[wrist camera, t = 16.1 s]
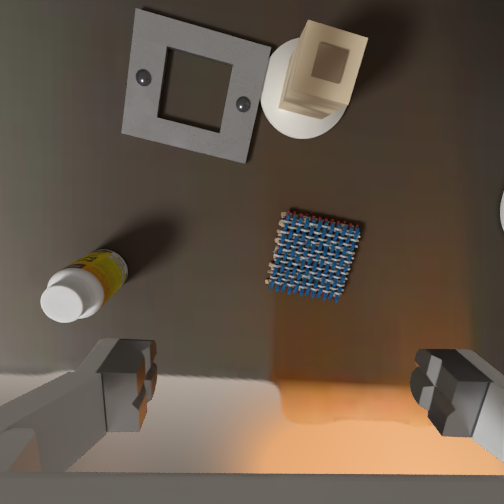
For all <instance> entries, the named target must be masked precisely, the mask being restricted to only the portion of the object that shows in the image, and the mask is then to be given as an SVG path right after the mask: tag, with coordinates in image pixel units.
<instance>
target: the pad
mask: <svg viewBox="0 0 504 504" xmlns="http://www.w3.org/2000/svg"><path fill="white" fill-rule="evenodd" d="M298 40H299V38H296V39H293V40H290V41H288V42H286V43H285V44H283V45H281V46H280V47H279V48H278V49H277V50H276V51H275V52H274V53H273V54H272V55H271V57H270V58H269V59H268V64H267V68H266V73H265V77H264V82H263V86H262V91H261V95H260V102H261V106H262V109H263V112H264V114H265V116H266V118H267V119H268V121H269V122H270V123H271V125H272V126H273V127H274V128H275V129H277V130H278V131H279V132H281V133H282V134H284V135H286V136H288V137H292V138H297V139H308V138H313V137H316V136H319V135H321V134H323V133H325V132H327V131H328V130H330V129H331V128H332V127H333V126H334V125H335V124H336V123H337V122H338V121H339V119H340V118H341V117H342V115H343V113H344V112H345V109H346V107H347V106H346V107H344V108H342V109H340V110H338V111H336V112H334V113H333V114H331V115H329V116H327V117H325V118H323V119H321V120H320V119H316V118H312V117H309V116H305V115H301V114H298V113H294V112H290V111H286V110H283V109H279V108H278V106H279V102H280V98H281V94H282V89H283V85H284V81H285V77H286V73H287V69H288V64H289V60H290V57H291V55H292V53H293V51H294V49H295V47H296V45H297V42H298Z"/></svg>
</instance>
